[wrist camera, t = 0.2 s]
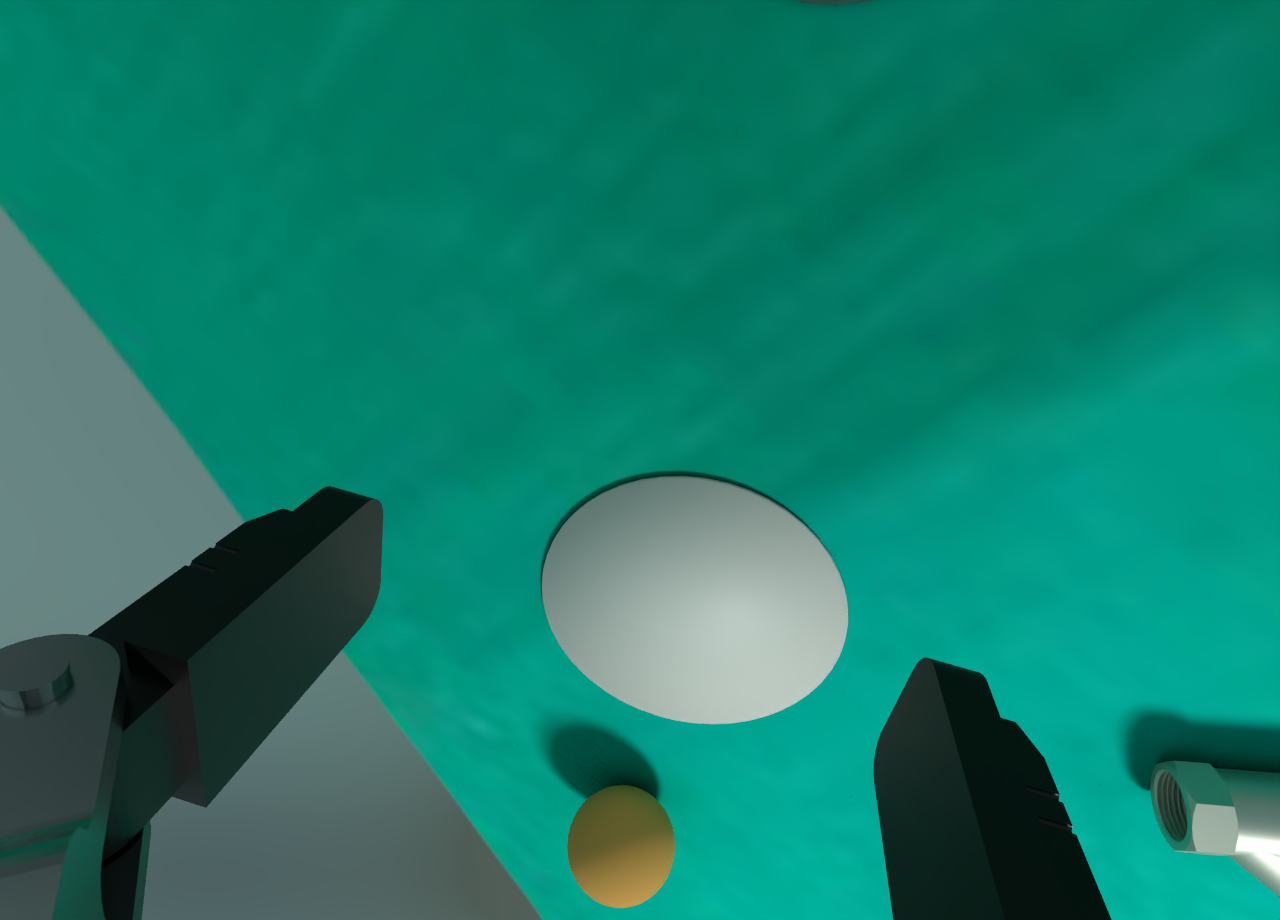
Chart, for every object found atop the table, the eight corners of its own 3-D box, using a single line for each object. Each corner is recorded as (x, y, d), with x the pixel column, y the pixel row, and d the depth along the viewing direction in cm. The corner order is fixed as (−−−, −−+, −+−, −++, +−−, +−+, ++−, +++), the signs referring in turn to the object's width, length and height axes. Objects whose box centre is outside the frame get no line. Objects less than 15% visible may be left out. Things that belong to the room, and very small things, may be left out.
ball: (592, 749, 38) (561, 846, 33) (692, 780, 37) (676, 883, 32) (576, 812, 40) (546, 910, 35) (669, 841, 40) (652, 945, 35)
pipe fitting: (1319, 849, 32) (1381, 756, 29) (1379, 942, 29) (1457, 850, 25) (1124, 830, 34) (1160, 740, 30) (1159, 916, 31) (1204, 826, 27)
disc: (565, 438, 29) (564, 440, 29) (897, 528, 28) (897, 531, 28) (527, 673, 36) (525, 676, 36) (792, 753, 35) (792, 756, 35)
